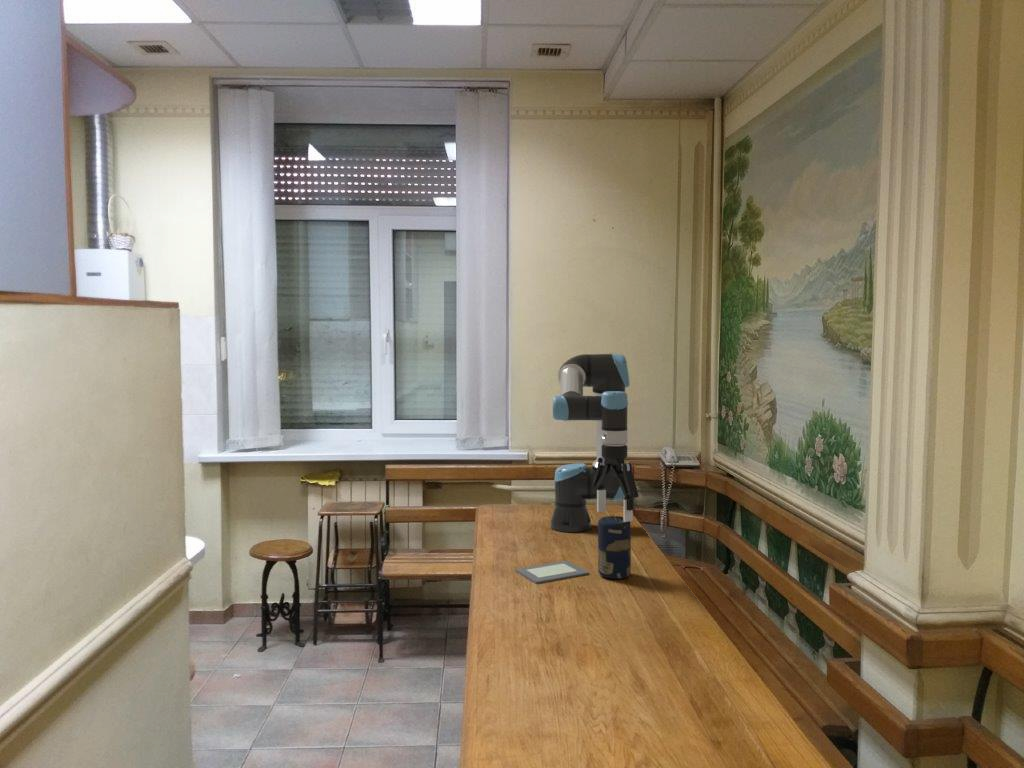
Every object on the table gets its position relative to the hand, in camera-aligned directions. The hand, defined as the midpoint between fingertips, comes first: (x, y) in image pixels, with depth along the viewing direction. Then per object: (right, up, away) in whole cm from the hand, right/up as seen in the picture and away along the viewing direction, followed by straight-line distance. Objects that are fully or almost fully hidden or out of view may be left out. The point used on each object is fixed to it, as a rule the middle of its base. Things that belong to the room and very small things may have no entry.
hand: (614, 516), depth 212 cm
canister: (0, -18, +1) cm, 18 cm away
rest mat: (-18, -18, +4) cm, 26 cm away
